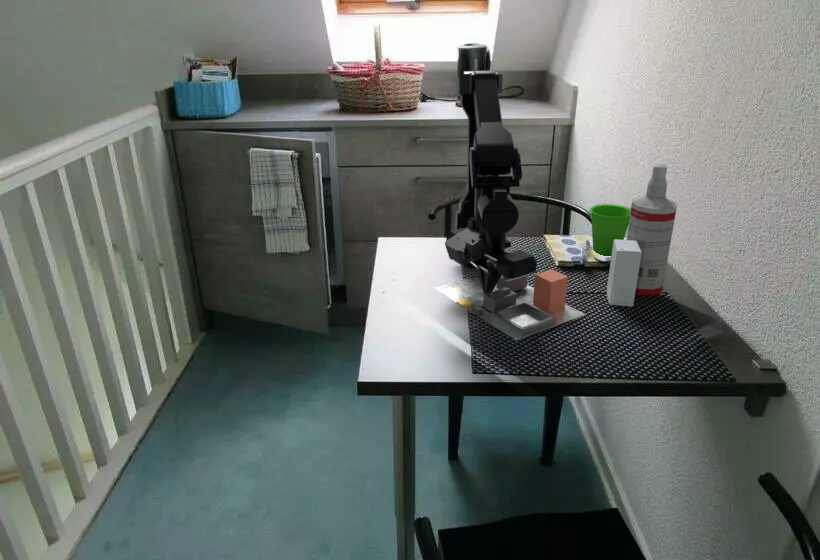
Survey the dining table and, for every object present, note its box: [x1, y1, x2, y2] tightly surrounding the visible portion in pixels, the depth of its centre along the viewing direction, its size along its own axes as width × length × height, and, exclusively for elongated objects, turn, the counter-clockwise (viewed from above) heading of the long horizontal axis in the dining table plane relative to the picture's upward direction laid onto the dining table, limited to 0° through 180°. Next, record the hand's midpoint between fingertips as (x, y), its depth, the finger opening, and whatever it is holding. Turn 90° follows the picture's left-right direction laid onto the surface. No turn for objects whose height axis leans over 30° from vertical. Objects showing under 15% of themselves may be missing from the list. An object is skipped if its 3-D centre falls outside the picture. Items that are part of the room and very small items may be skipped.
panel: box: [433, 274, 586, 341], centre depth 110 cm, size 24×16×3 cm, turn 32°
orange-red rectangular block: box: [533, 268, 569, 313], centre depth 106 cm, size 4×4×6 cm
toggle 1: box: [496, 274, 529, 292], centre depth 113 cm, size 3×5×3 cm, turn 122°
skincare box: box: [606, 239, 642, 307], centre depth 108 cm, size 6×4×12 cm
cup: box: [589, 203, 631, 256], centre depth 129 cm, size 9×9×11 cm
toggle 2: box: [483, 287, 517, 312], centre depth 106 cm, size 3×5×3 cm, turn 122°
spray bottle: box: [626, 163, 678, 297], centre depth 110 cm, size 8×8×25 cm
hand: (487, 294), depth 109 cm, fingers closed
